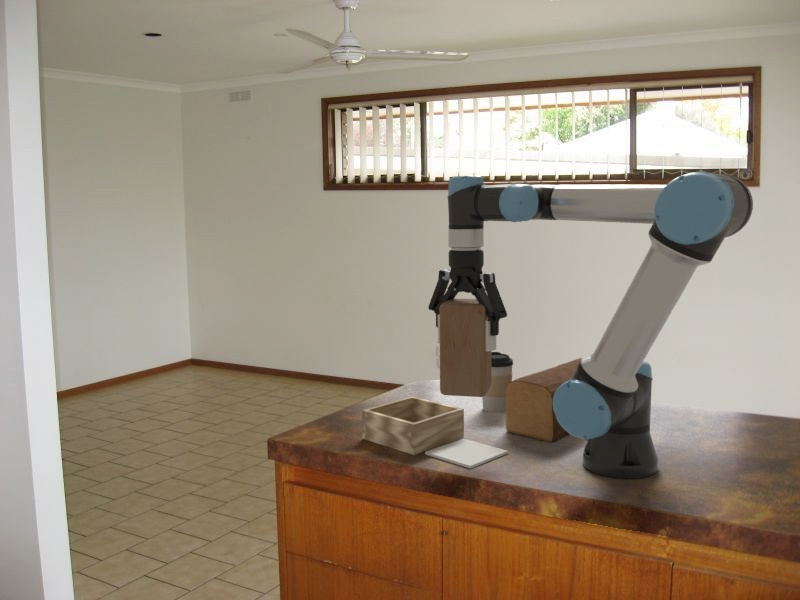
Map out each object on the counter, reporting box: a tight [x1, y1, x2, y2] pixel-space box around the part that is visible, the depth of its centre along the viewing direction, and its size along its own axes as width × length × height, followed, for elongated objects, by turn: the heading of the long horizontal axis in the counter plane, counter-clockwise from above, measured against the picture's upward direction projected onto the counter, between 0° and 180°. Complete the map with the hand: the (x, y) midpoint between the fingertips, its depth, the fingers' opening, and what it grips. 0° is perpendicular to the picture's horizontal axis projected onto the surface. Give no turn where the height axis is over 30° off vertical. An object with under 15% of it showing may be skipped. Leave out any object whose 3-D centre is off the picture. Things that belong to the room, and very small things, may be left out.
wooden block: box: [439, 298, 493, 398], centre depth 165 cm, size 10×10×20 cm
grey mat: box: [424, 437, 509, 469], centre depth 168 cm, size 13×13×1 cm
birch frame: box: [361, 395, 465, 456], centre depth 180 cm, size 17×17×7 cm
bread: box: [505, 357, 582, 443], centre depth 191 cm, size 14×34×14 cm, turn 138°
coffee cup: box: [481, 351, 514, 413], centre depth 203 cm, size 9×9×15 cm
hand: (466, 346), depth 165 cm, fingers closed on wooden block, 13 cm apart
